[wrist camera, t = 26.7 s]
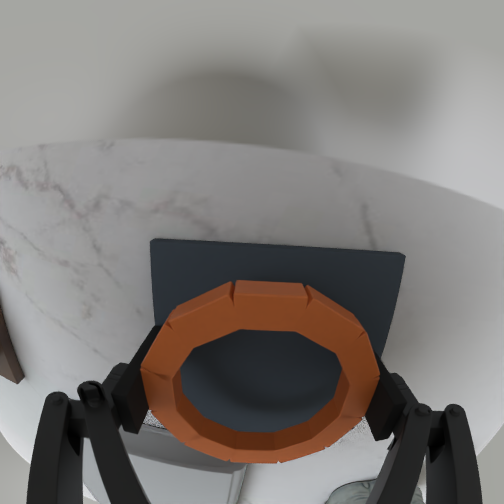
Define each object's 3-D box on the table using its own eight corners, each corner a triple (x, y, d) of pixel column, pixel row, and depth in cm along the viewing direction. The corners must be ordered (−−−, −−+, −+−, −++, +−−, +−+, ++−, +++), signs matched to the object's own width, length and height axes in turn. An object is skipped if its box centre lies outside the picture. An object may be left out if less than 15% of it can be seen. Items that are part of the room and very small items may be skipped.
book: (105, 511, 21) (44, 419, 16) (112, 494, 25) (62, 395, 19) (228, 539, 22) (248, 475, 16) (229, 520, 25) (248, 441, 20)
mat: (154, 238, 16) (149, 241, 15) (400, 252, 16) (406, 255, 15) (172, 419, 19) (170, 425, 18) (351, 423, 19) (353, 429, 18)
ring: (141, 272, 12) (127, 284, 10) (389, 285, 12) (405, 297, 11) (166, 435, 15) (160, 453, 13) (339, 441, 15) (344, 458, 13)
